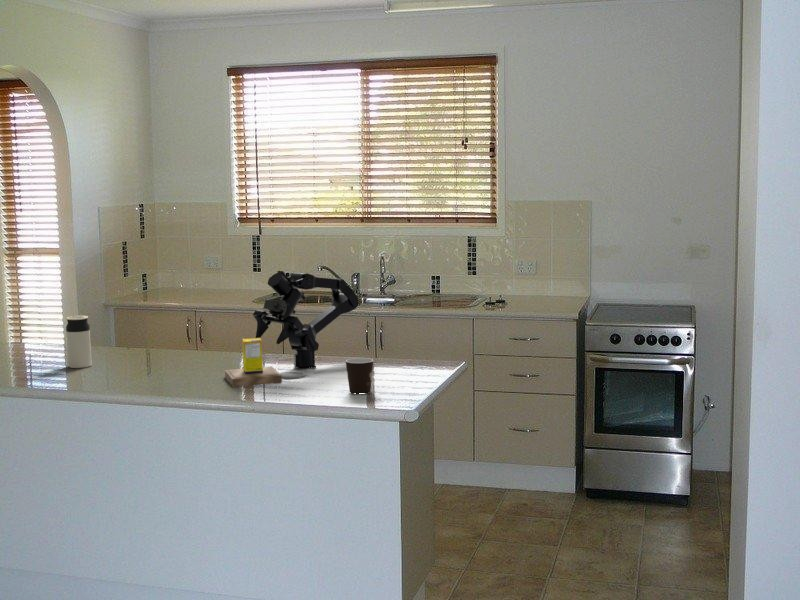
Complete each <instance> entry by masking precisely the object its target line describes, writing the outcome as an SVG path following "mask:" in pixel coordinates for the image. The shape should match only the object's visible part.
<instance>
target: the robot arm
mask: <svg viewBox="0 0 800 600" xmlns="http://www.w3.org/2000/svg"><path fill="white" fill-rule="evenodd" d="M267 285H268V286H269V287H270V288H271V289H272V290H273V291H274V292H275V293H276V294H277V295H278V296H281V298H280V299H279V300H271V299H265V300H264V305H263V307H262V308H263V310H262V309H256V310H254V312H253V314H252V316H253V318H254V320H255V321H256V324H257V325H256V332H255V338H260V339H261V337H262V336H263V335H264V334H265V333H266V332H267V330H268V329H269V328H270V325H271V323H274V324H275V323H277V324H281V325H282V329H281V331H280V334H279V335H278V337H277V339H276V344H277V345H279V344H280V345H281V343H283V342H284V341H286V340H287V339H288V342H289V345H290V347H291V350H293V351H294V354H293V366H294V367H295V368H296V369H297V370H303V369H304V370H305V369H316V368H317V365H316V361H315V360H316V355H315V352H316V351H318V350H319V347H320V343H318V341H317V340H316V338H317V335H318V334H319V333H320V332H322V331H323V330H324V329H325V328H326V327H327V326H329V325H330V324H331V323H333V322H334V321H335V320H336V319H337V318H339V317H340V316H342V315H343V314H347V313H351V312H352V311H355V310H356V309H357V308H358V306H359V303H360V301H359V297H358V296H357V295H356V293H355V291H354V289H352V288H351V287H349V285H348V284H347V283H346V281H345V280H344V279H343V278H338V277H337V278H335V277H333V278H328V277H317V276H315V275H314V274H311V273H306V272H292V274H291V275H290V276H288V275H286V273H285V271H283V270H278V271H277V272H276V273H274V274H273V275H271V276H270V277H269V278H268V280H267ZM315 288H316V289H317V288H319V289H320V288H321V289H330V290H331V297H332V302H331V305H330V306H329V307H328V308H326V309H325V310H324V311H322V312H321V313H320V314H318V315H317V316H316V317H315V318H313V319H312V320H311V321H309V322H308V323H303V322H302V321H301V319H300V318H299V317H298V316H294V315H295V314H296V310H295V309H296V308H297V305H298V303H299V302H300V301H306V297H305V292H302V291H300V290H304V291H305V290H306V291H307V290H313V289H315ZM266 310H268V313H269V314H270V315H269V314H268V313H267V311H266Z"/></svg>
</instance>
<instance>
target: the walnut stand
mask: <svg viewBox="0 0 800 600" xmlns="http://www.w3.org/2000/svg"><path fill="white" fill-rule="evenodd" d="M280 373H281V372H279V371H278V370H277V369H275V368H274V367H273V366H263V373H251V374H245V372H244V368H235V369H234V368H232V369H225V370H224V378H225V379H226V380H227V382H228V383H229V385H231V387H232V388H235V387H247V386H249V387H250V386H259V385H260V386H261V384H262V385H272V384H271V383H274V384H282V383H283V379H282V375H281V374H280ZM281 382H282V383H281Z"/></svg>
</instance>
